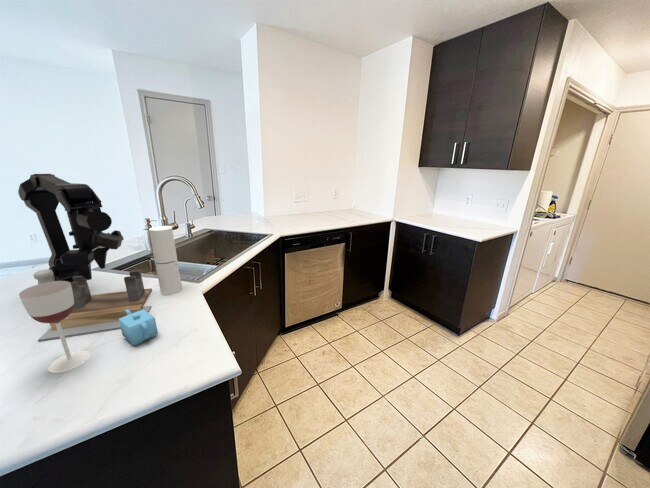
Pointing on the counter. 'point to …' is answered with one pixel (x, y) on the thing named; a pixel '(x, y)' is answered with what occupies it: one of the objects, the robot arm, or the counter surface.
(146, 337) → the light blue knobbed box
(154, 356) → the counter surface
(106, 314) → the oak rail
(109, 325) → the grey mat
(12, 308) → the counter surface
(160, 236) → the cylindrical container
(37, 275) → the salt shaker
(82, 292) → the rail stand
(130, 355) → the counter surface
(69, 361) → the wineglass
